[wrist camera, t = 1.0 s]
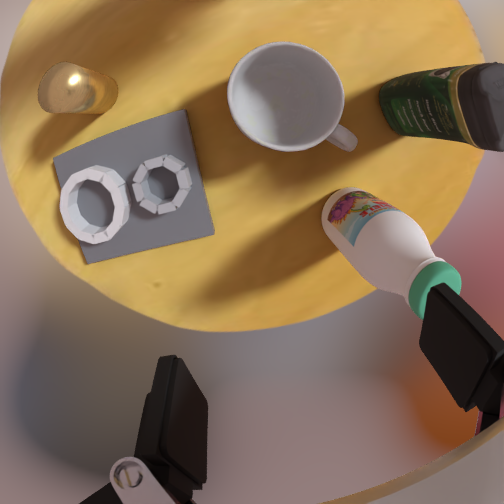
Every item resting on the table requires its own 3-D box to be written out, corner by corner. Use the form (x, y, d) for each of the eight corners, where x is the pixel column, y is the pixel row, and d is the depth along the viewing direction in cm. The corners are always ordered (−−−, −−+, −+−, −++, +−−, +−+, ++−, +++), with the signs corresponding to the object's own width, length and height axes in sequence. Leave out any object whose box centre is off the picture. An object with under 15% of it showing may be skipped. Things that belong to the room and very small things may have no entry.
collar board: (58, 156, 29) (42, 161, 25) (186, 109, 29) (180, 107, 25) (92, 259, 35) (80, 272, 31) (214, 230, 35) (212, 242, 31)
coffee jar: (393, 143, 32) (502, 169, 15) (367, 89, 29) (475, 73, 12) (439, 118, 30) (543, 134, 13) (418, 68, 27) (521, 55, 10)
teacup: (208, 104, 29) (201, 96, 21) (273, 43, 26) (286, 19, 19) (295, 184, 33) (313, 199, 26) (355, 124, 31) (387, 125, 23)
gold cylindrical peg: (80, 85, 26) (35, 76, 16) (115, 70, 26) (76, 53, 16) (86, 120, 28) (41, 121, 19) (121, 105, 28) (82, 99, 18)
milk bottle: (375, 235, 37) (467, 319, 19) (324, 248, 37) (395, 352, 19) (370, 180, 34) (482, 238, 15) (315, 192, 34) (402, 266, 16)
